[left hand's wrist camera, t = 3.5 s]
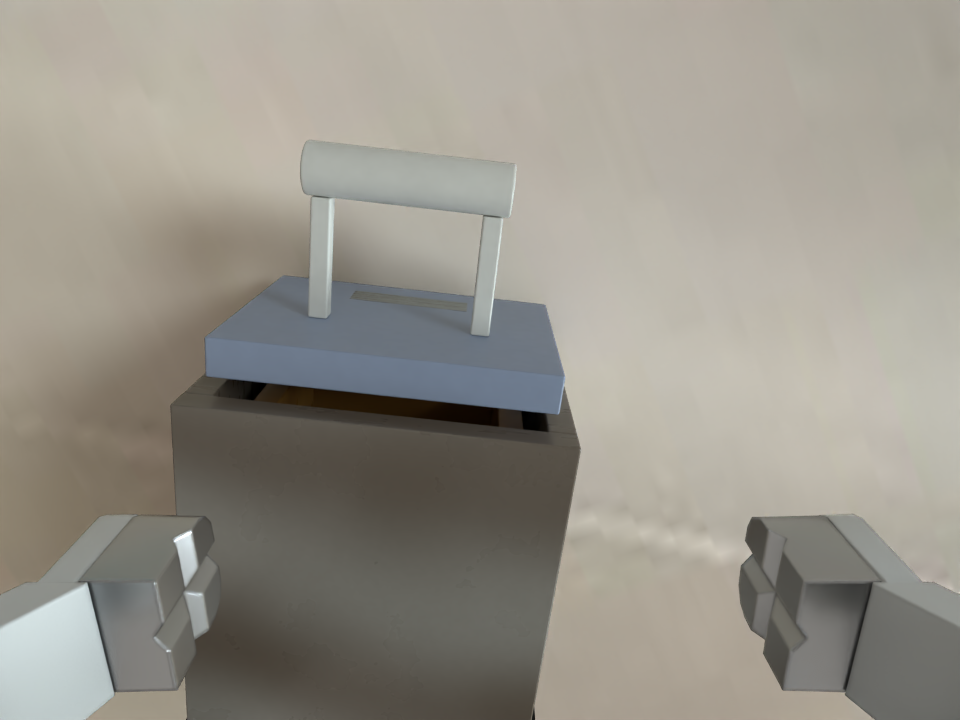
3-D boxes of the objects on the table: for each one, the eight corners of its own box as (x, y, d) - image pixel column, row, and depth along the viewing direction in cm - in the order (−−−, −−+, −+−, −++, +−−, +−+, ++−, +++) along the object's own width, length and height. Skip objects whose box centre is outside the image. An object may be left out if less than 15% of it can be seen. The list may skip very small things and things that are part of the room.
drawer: (284, 127, 24) (197, 134, 17) (567, 161, 24) (598, 181, 17) (279, 625, 31) (218, 774, 24) (494, 646, 31) (495, 800, 24)
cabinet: (274, 309, 27) (169, 404, 18) (552, 340, 27) (581, 448, 18) (272, 657, 33) (193, 853, 24) (499, 679, 33) (502, 881, 25)
